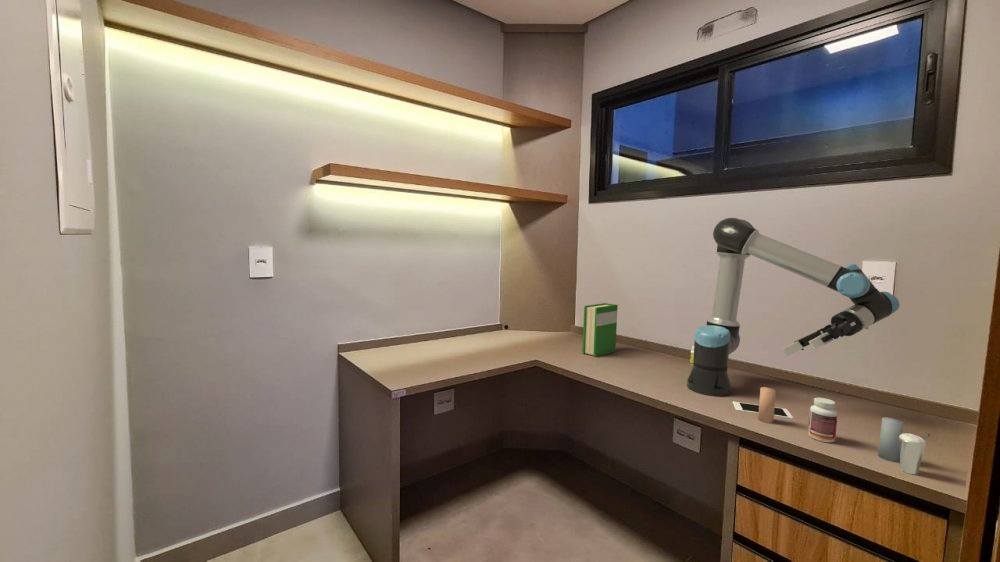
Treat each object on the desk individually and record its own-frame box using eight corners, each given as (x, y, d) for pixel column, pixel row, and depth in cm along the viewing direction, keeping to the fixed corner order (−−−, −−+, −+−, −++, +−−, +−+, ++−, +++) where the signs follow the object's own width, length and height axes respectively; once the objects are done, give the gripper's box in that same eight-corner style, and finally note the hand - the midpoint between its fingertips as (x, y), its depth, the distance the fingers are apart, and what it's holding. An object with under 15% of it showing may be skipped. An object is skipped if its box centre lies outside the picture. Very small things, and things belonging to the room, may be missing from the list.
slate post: (877, 457, 106) (881, 420, 105) (878, 452, 109) (882, 416, 108) (899, 463, 103) (903, 425, 102) (899, 458, 106) (903, 420, 105)
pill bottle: (840, 444, 113) (844, 405, 112) (815, 442, 114) (819, 403, 113) (826, 434, 119) (829, 397, 118) (803, 432, 120) (806, 395, 119)
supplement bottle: (691, 362, 190) (692, 345, 189) (702, 364, 187) (703, 346, 186) (688, 365, 186) (689, 347, 186) (699, 367, 184) (700, 348, 183)
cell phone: (732, 402, 143) (732, 401, 143) (786, 410, 137) (786, 408, 137) (735, 411, 135) (736, 409, 135) (793, 419, 130) (793, 418, 130)
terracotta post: (756, 420, 128) (759, 389, 127) (759, 416, 130) (762, 386, 130) (771, 424, 125) (774, 392, 124) (774, 420, 128) (777, 389, 127)
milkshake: (930, 478, 97) (935, 438, 96) (901, 473, 98) (906, 433, 98) (919, 469, 101) (924, 430, 100) (891, 464, 103) (896, 426, 102)
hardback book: (594, 357, 196) (596, 307, 194) (582, 354, 202) (584, 305, 199) (615, 351, 208) (617, 304, 206) (603, 348, 213) (605, 303, 211)
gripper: (893, 321, 119) (834, 353, 116) (830, 339, 142) (780, 365, 140) (875, 299, 121) (816, 330, 119) (816, 320, 145) (766, 346, 142)
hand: (797, 349), depth 129 cm, fingers open, 13 cm apart
